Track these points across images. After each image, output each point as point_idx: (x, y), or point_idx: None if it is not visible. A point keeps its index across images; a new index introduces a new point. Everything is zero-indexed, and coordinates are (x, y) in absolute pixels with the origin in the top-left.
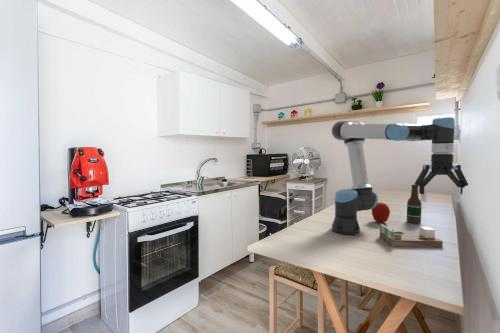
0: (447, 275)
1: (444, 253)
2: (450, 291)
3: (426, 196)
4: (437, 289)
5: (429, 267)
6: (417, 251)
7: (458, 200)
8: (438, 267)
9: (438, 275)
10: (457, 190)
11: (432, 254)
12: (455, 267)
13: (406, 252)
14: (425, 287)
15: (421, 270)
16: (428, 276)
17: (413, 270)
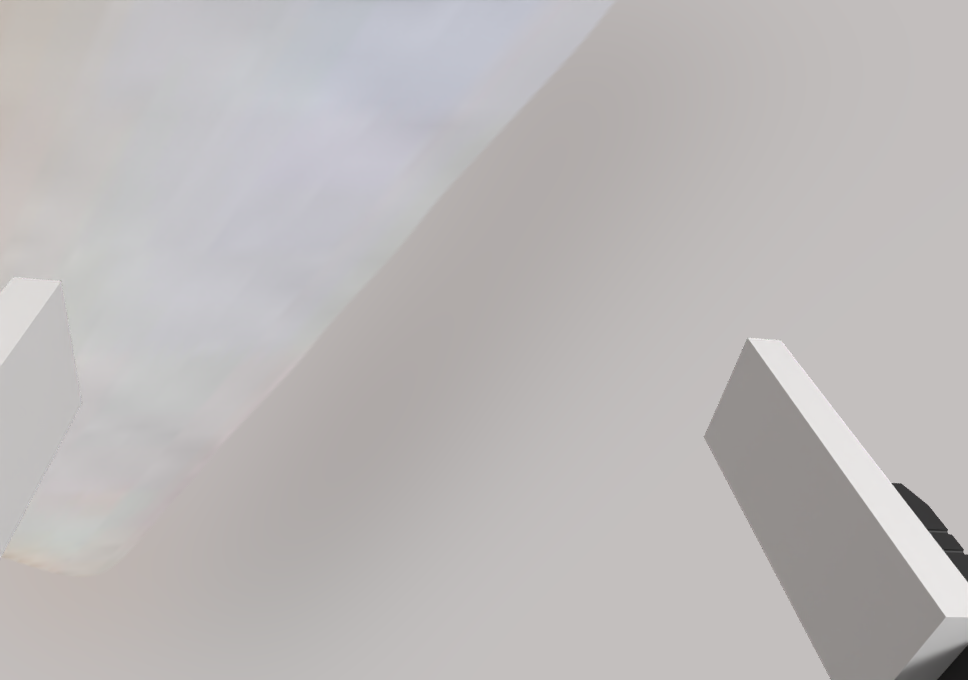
0: (213, 392)
1: (461, 67)
2: (123, 515)
3: (31, 496)
4: (63, 505)
5: (154, 303)
6: (221, 4)
7: (720, 463)
8: (222, 303)
9: (154, 392)
10: (832, 612)
11: (330, 84)
12: (346, 303)
13: (87, 23)
14: None
15: None
16: None
17: None
